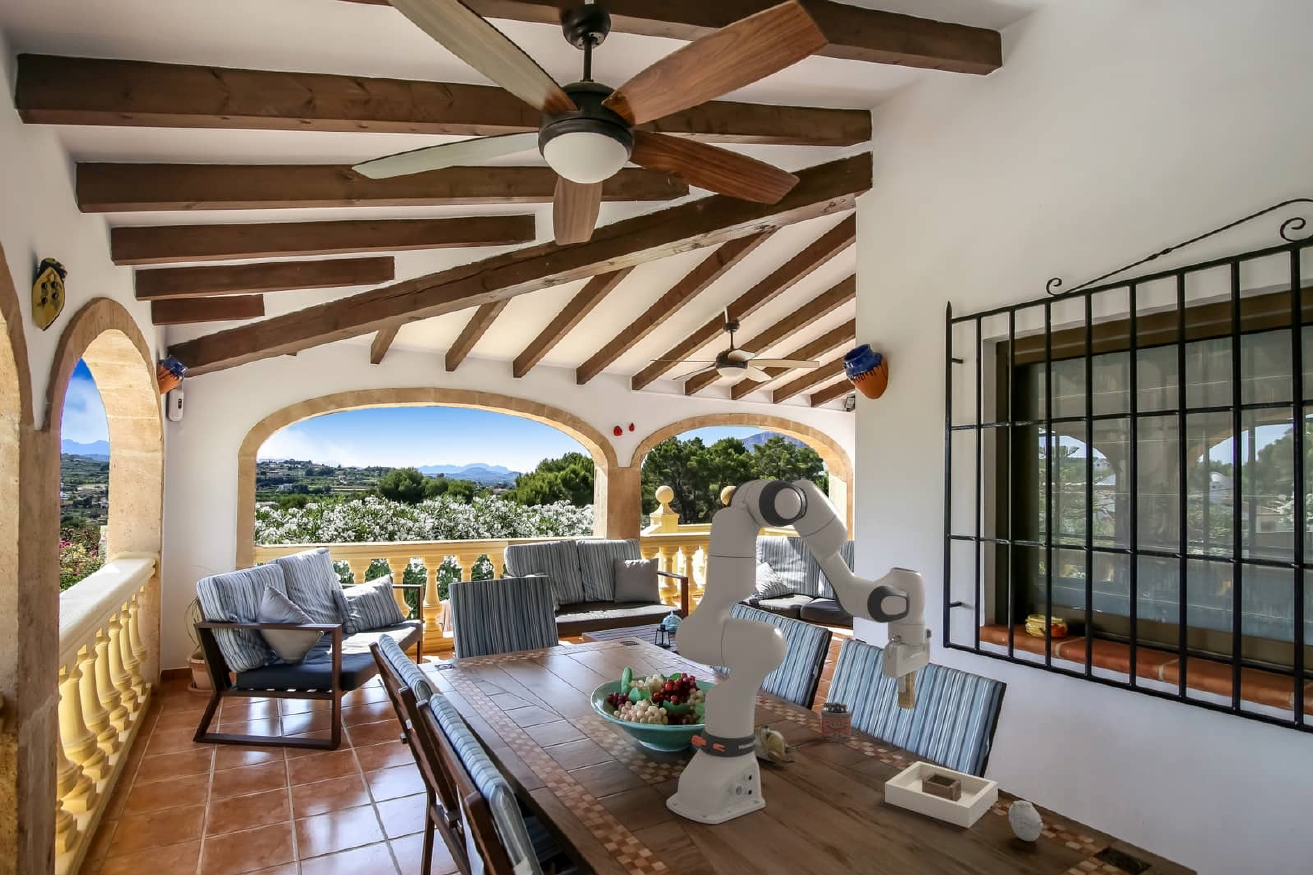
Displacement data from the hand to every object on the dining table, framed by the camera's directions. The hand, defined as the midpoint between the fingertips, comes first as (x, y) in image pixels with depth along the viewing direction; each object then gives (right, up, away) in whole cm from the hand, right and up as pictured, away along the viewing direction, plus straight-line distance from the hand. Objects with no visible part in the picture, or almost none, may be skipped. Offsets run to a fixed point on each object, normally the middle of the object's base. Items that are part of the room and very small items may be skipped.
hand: (906, 689), depth 185 cm
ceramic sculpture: (-34, -19, +3) cm, 39 cm away
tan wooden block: (0, -4, 0) cm, 4 cm away
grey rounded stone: (+11, -17, -38) cm, 43 cm away
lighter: (-13, -20, +17) cm, 29 cm away
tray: (+1, -18, -21) cm, 27 cm away
